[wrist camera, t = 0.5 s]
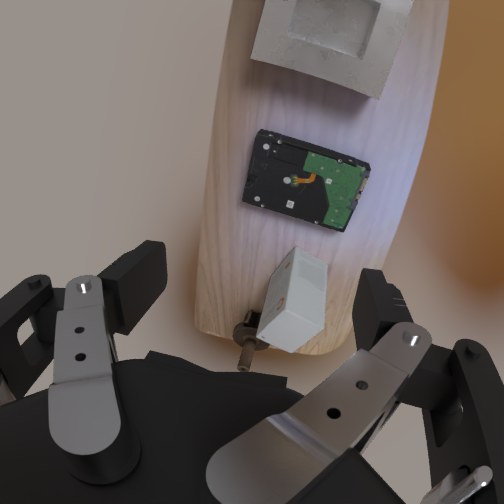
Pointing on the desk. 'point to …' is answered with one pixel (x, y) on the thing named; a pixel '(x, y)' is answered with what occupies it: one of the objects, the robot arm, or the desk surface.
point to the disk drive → (304, 180)
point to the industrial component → (248, 339)
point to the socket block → (334, 39)
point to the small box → (294, 302)
